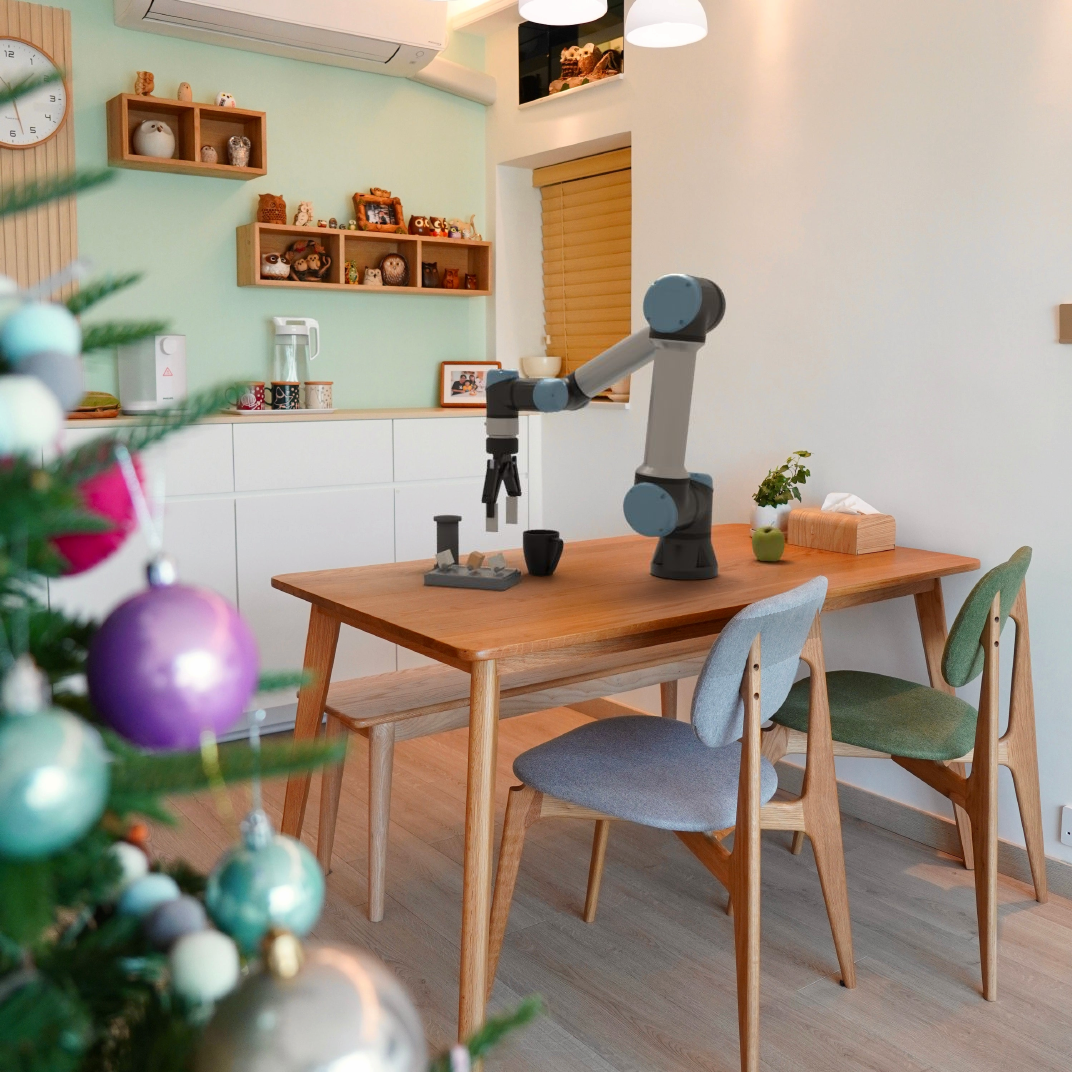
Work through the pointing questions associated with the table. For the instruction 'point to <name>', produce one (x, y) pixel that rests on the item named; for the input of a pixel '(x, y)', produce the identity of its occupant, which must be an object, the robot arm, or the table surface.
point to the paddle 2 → (497, 562)
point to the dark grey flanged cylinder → (448, 536)
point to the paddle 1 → (445, 559)
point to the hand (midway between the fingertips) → (502, 527)
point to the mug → (542, 551)
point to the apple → (768, 543)
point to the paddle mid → (475, 561)
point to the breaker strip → (473, 577)
